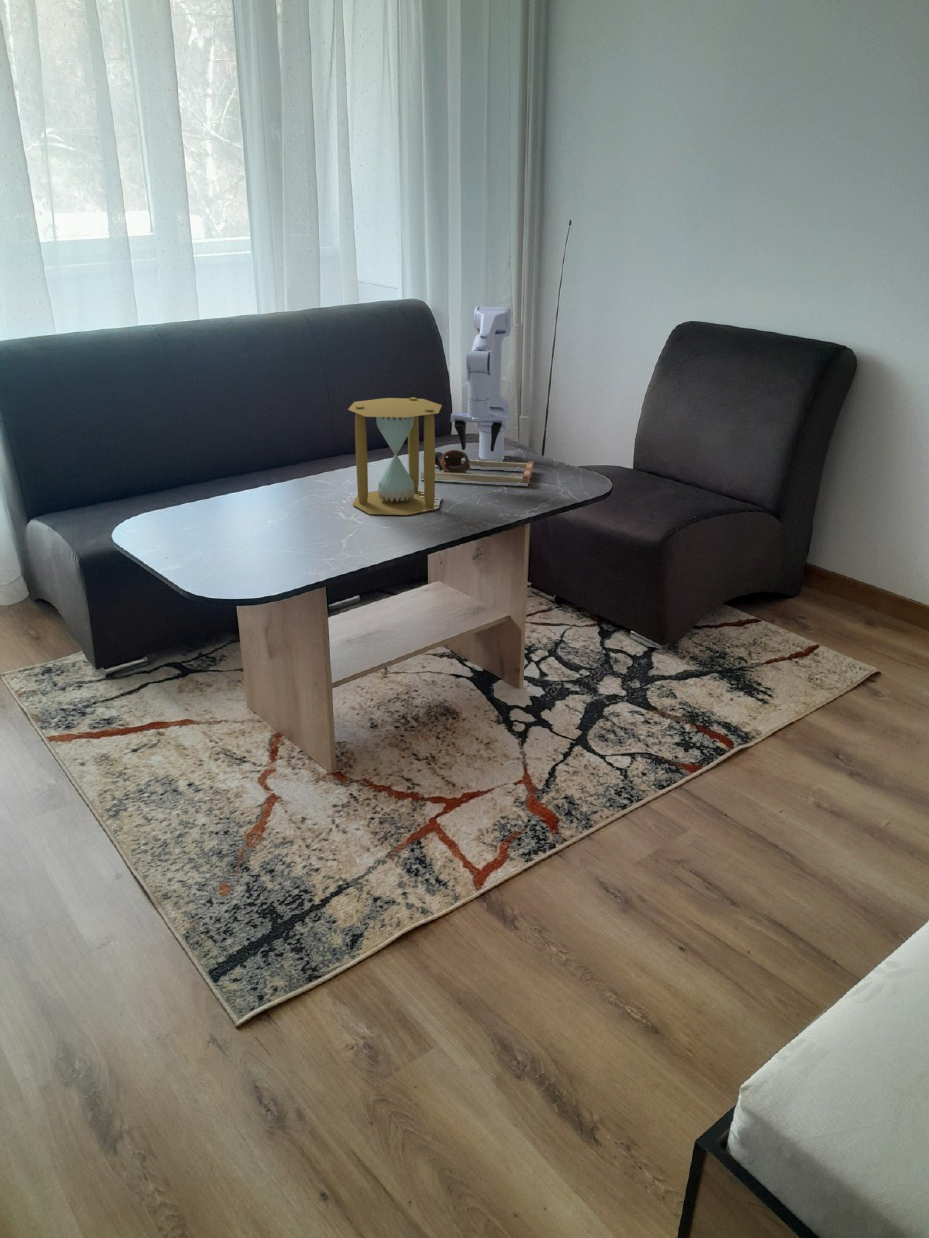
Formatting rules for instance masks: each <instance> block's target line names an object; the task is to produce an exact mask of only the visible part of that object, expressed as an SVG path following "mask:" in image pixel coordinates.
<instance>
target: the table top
mask: <svg viewBox="0 0 929 1238" xmlns="http://www.w3.org/2000/svg"><path fill="white" fill-rule="evenodd" d="M469 460H470V462H468V463H469V465H470V466H475V467H476V466H480V467H514V468H516V467H520V468H526V469H525V472H523V475H522V476H513V475H512V476H510V475H496V474H478V473H477V474H475V473H463V474H462V473H444V471H443V472H442V471H439V472H438V471H435V479H437V480H457V481H481V482H514V483H517V482H520V483H528V481H529V479H530V476H531V472H532V469H533V470H534V461H527V462H516V461H515V462H512V461H511V462H510V461H504V462H497V461H479V460H476V459H475V460H474V459H469ZM464 462H465V459H461V463H462V464H463V463H464ZM435 465H436V464H435ZM421 479H424V470H423V471H420V480H421Z"/></svg>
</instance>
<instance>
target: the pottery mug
mask: <svg viewBox="0 0 929 1238" xmlns="http://www.w3.org/2000/svg"><path fill="white" fill-rule="evenodd" d="M463 459H464V460H465V462H464V463H463V464H462V463H461V460H463ZM470 460H471V459H470V458H469V457H468V455H467V454H466V452H464V451H463V450H459V449H449V450H447V451H445V452H444V453H442V452H440V451H435V464H436V465H437V466H438V471H439V472H442V471H443V472H444V473H462V474H464V473H466V472H467V471H468V470H470V469H471V468H470V465H469V463H468V462H470Z"/></svg>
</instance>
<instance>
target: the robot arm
mask: <svg viewBox="0 0 929 1238" xmlns="http://www.w3.org/2000/svg"><path fill="white" fill-rule="evenodd" d="M473 313H474V314H473V327H474V328H475V330H476V332H477V335H476V336H475V337H474V340H473V343H472V346H471V350H470V351H469V352H467V353H466V357H465V359H466V360H465V367H466V368H465V369H466V381H467V412H458V413H455V412H452V413H451V414H450V423H454V425H453V426H454V429H455V431H456V433H457V435H458V438H459V441H460V445H461V451H465V450H466V448H467V447H466V446H467V444H466V443H467V440H466V431H467V428H466V427H467V423H473V424H474V426H475V427H476V428H478V431H479V440H478V441H479V444H478V446H479V447H478V456H479V457H480V458H481V459H499V458H502V457H503V453H504V452H505V451H504V445H505V442H504V441H505V430H507V429H508V428H509V426H510V418H511V412H510V411H511V409H510V403H509V401H508V400H506V398H505V397H503V396H502V395H501V381H502V380H501V379H502V378H501V377H502V376H501V375H502V352H503V351H502V348H503V347H502V346H503V341H504V338H505V337H508V336H510V335H511V331H512V330H511V327H512V309H511V308H510V307H509V306H507V307H506V306H505V307H504V306H480V305H477V306H476V307H475V308H474V312H473Z"/></svg>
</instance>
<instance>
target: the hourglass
mask: <svg viewBox="0 0 929 1238" xmlns="http://www.w3.org/2000/svg"><path fill="white" fill-rule="evenodd" d="M442 406H443V405H442V404H439V403H437V402H434V401H431V400H428V399H425V398H417V397H408V398H403V397H401V398H399V397H385V398H375V399H367V400H360V401H359V400H357V401H353V403H352V404H351V405H350V406H349V408H347V411H350V412H352V413H355V415H354V429H355V431H354V436H355V462H356V464H355V465H356V466H355V467H356V484H357V485H356V486H357V496H355V499H354V501H353V502H352V506H354V507H356V508H358V509H359V510H361V511H363V512H365V513H366V514H368V515H390V516H392V515H393V516H395V515H396V516H398V515H399V516H409V515H415V514H419V513H425V512H430V510H431V511H436V510H437V509H434V507H439V506H438V505H434V503H436V502H435V501H434V500H438V499H434V498H435V495H436V491H435V489H436V482H435V472H436V468H435V452H436V441H435V440H436V435H435V434H436V432H435V430H436V429H435V428H436V425H435V414H439V412H441V411H440V410H441V408H442ZM419 416H424V420H423V471H424V481H423V486H424V487H423V488H424V492H421V491H418V490H423V489H421V488H420V489H419V483H420V439H419V436H420V433H419V431H420V428H419V425H420V424H419ZM366 418H375V419H376V426H377V428H378V430H379V432H380V434H381V435H382V437H383V438H384V440H385V441H386V443H387V445H388V446H389V448H390V450H391V451H392V452H393V454H394V455H393V457H392V459H391V460H390V462H389V464H388V466H387V467H386V469H385V470H384V473H383V474H382V476H381V478H380V480H379V481H378V489H377V490H374V491H369V476H368V475H369V474H368V473H369V472H368V471H369V468H368V466H369V465H368V447H367V445H368V442H367V423H366V421H367V420H366ZM406 439H407V454H408V455H407V457H408V458H407V459H408V471H407V469H406V468H405V466H404V464H403V462H402V461H401V459H400V458H399V456H398V454H399V452H400V451H401V448H402V447H403V445H404V443H405V441H406ZM421 493H424V494H421ZM420 496H424V497H420ZM439 508H440V507H439ZM423 510H426V511H423Z"/></svg>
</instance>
